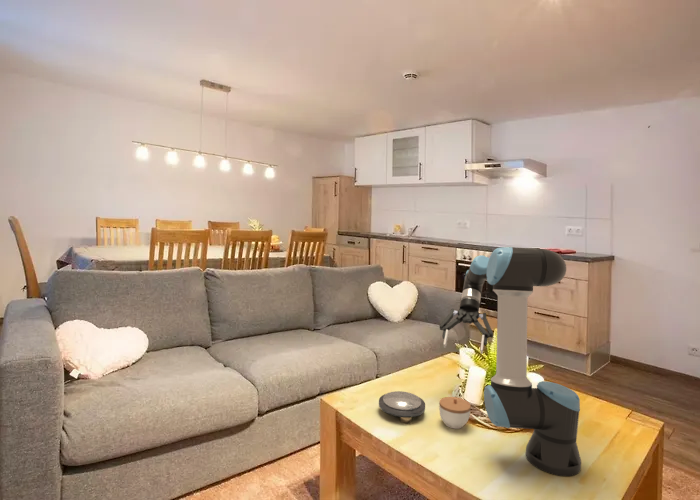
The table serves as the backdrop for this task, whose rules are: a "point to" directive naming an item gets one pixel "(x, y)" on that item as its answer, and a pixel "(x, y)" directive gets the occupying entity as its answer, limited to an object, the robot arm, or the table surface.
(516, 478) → the table surface
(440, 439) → the table surface
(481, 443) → the table surface
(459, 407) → the lidded jar
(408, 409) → the base
